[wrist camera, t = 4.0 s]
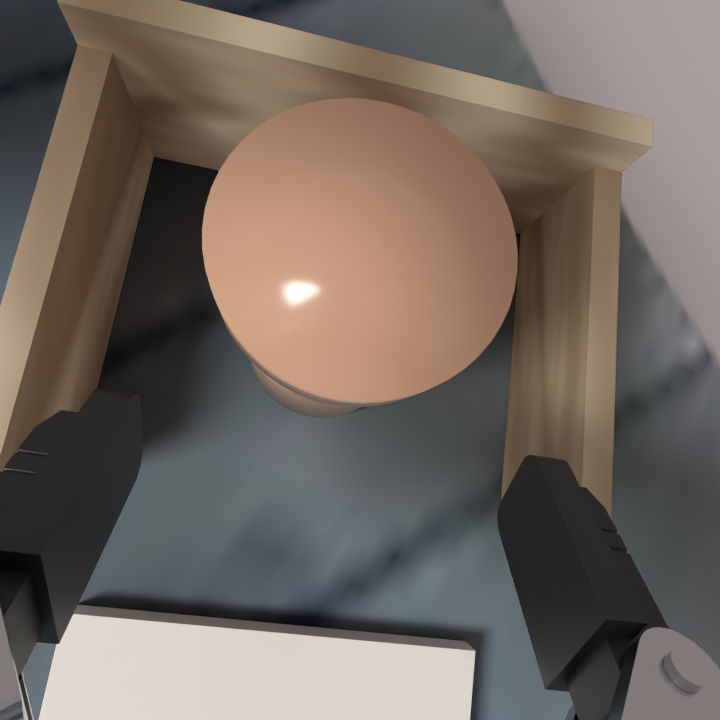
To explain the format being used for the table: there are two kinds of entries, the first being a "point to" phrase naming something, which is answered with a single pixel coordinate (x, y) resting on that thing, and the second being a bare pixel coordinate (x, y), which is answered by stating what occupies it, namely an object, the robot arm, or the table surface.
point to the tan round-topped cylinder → (357, 254)
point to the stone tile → (249, 671)
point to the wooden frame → (243, 115)
